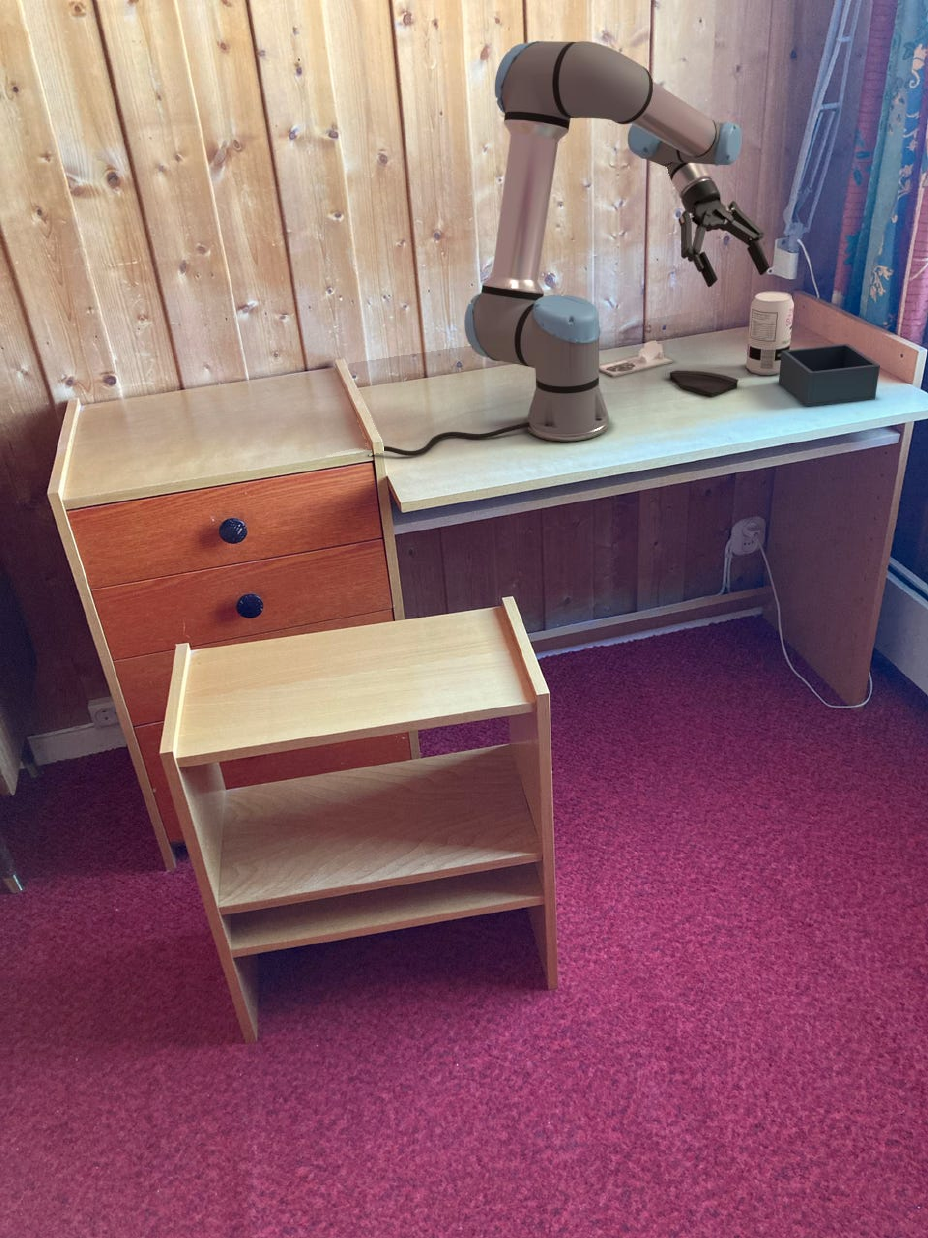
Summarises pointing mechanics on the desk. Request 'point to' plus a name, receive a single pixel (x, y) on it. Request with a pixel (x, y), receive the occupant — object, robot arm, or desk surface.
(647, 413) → the desk surface
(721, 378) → the fan shaped piece
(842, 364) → the bin
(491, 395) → the desk surface
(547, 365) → the robot arm
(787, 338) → the supplement can
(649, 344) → the white plate with bracket
